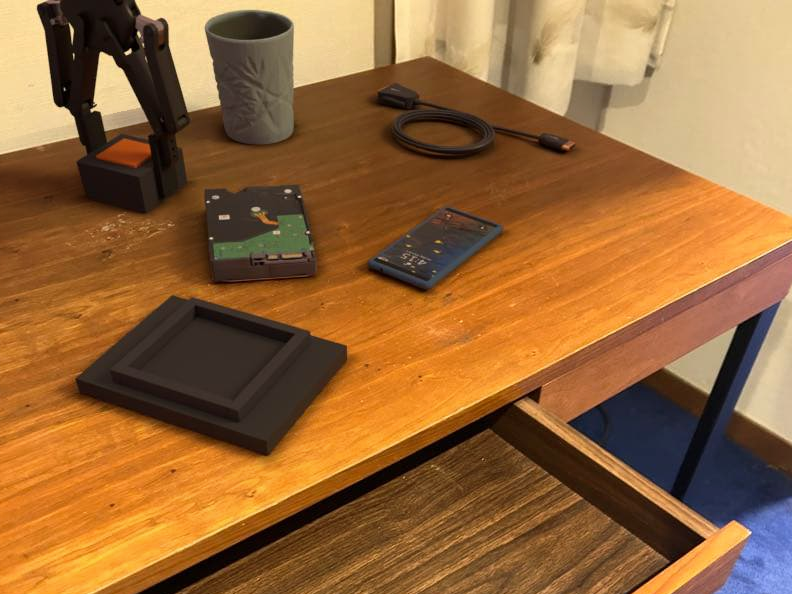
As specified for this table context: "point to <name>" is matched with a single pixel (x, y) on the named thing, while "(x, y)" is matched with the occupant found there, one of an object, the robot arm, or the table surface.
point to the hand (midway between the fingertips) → (135, 183)
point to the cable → (410, 99)
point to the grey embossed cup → (253, 74)
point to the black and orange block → (125, 174)
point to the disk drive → (259, 233)
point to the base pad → (216, 372)
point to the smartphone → (435, 247)
